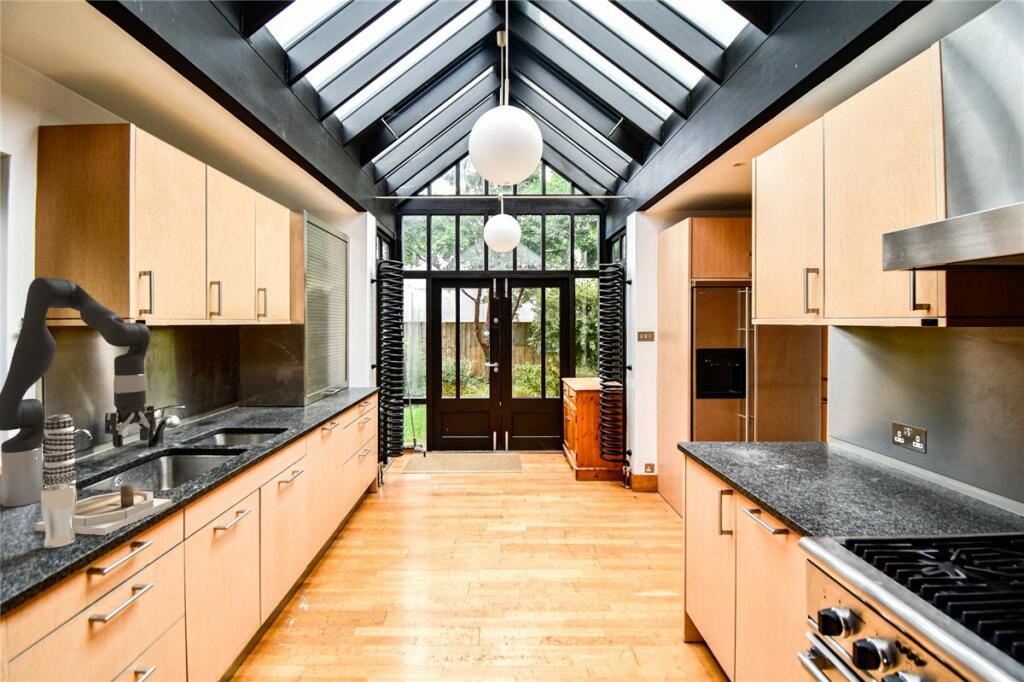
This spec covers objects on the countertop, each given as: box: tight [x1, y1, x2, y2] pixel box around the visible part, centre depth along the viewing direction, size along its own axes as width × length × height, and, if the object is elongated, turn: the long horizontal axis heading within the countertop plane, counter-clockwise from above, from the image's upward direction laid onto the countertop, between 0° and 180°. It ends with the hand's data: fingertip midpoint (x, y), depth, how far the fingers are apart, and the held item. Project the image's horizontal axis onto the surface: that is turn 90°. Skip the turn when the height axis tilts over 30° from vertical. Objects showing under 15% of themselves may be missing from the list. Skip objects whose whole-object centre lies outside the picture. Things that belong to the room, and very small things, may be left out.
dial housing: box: [35, 490, 173, 536], centre depth 143 cm, size 22×22×4 cm
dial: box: [75, 483, 144, 516], centre depth 143 cm, size 17×17×8 cm
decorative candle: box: [42, 413, 77, 487], centre depth 173 cm, size 9×9×25 cm
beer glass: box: [39, 482, 78, 549], centre depth 126 cm, size 7×7×15 cm
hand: (131, 443), depth 144 cm, fingers open, 8 cm apart
